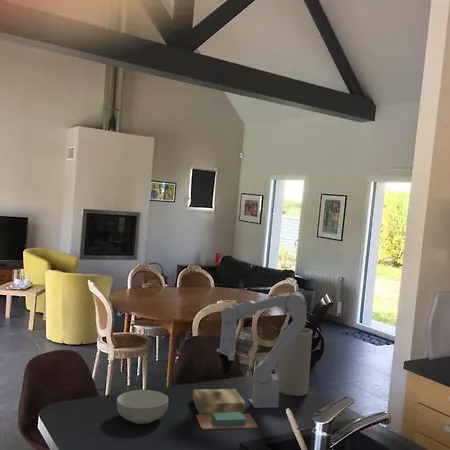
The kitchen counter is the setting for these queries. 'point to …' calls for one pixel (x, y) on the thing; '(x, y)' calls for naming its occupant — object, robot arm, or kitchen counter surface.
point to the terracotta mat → (208, 423)
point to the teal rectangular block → (228, 419)
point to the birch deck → (218, 401)
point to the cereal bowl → (142, 405)
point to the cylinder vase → (295, 365)
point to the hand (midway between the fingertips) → (225, 374)
